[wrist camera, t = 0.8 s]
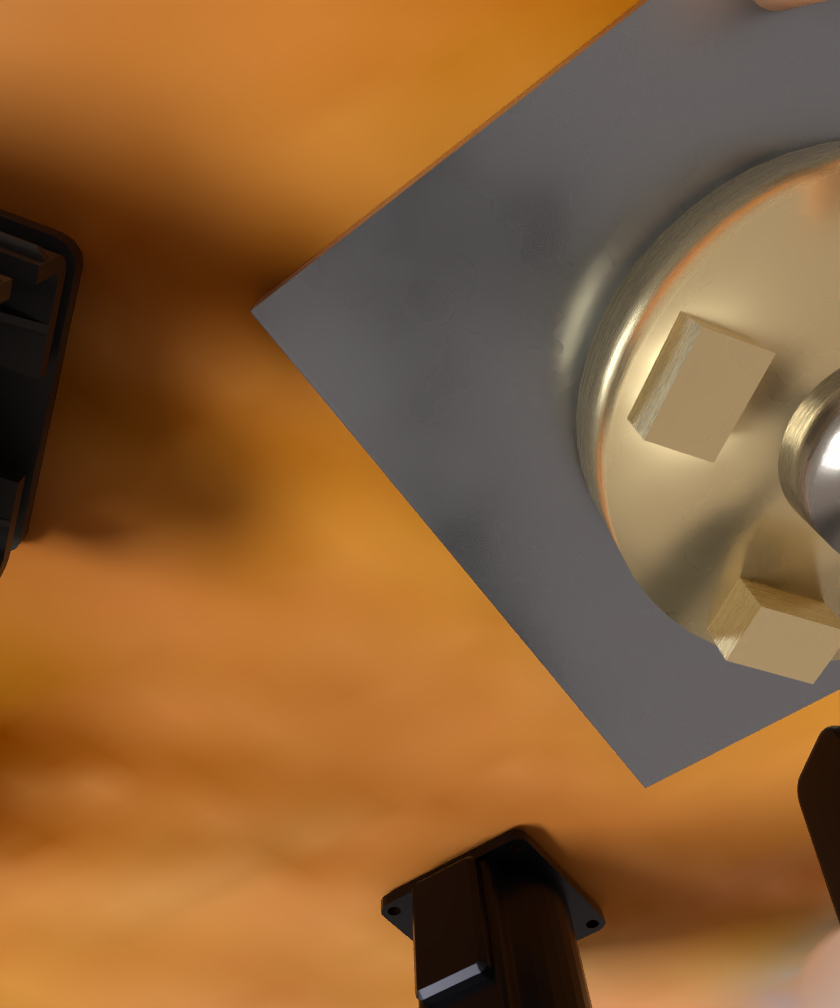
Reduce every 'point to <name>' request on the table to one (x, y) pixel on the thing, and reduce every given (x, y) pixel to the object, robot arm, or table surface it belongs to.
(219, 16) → the table surface
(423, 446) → the flange plate
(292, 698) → the table surface
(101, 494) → the table surface
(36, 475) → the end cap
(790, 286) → the gold disc with bar
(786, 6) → the stop post
